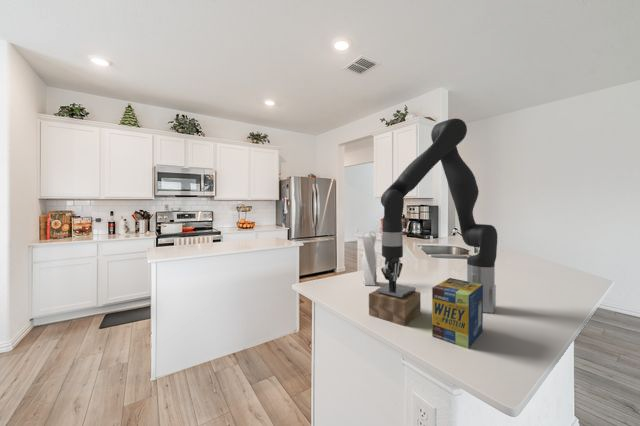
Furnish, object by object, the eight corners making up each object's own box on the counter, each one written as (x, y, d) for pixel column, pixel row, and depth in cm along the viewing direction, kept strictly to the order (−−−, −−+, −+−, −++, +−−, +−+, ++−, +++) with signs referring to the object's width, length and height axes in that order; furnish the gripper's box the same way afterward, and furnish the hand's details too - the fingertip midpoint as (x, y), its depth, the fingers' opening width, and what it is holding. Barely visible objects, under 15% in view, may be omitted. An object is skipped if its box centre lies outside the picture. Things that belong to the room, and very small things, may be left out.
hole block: (420, 313, 99) (420, 292, 98) (404, 326, 88) (404, 302, 88) (386, 304, 108) (386, 285, 108) (368, 314, 98) (368, 293, 97)
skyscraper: (379, 286, 132) (379, 231, 131) (363, 286, 132) (363, 231, 131) (376, 282, 140) (376, 230, 140) (361, 282, 140) (360, 230, 140)
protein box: (431, 336, 81) (431, 287, 81) (449, 321, 92) (449, 277, 91) (468, 349, 73) (468, 295, 73) (483, 331, 84) (483, 283, 84)
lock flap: (391, 285, 107) (391, 283, 107) (415, 290, 100) (415, 287, 100) (376, 291, 98) (376, 289, 98) (401, 297, 91) (401, 295, 91)
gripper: (393, 247, 89) (393, 297, 89) (409, 242, 99) (409, 288, 99) (374, 245, 94) (374, 292, 94) (391, 241, 104) (391, 284, 104)
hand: (392, 290), depth 97 cm, fingers closed
